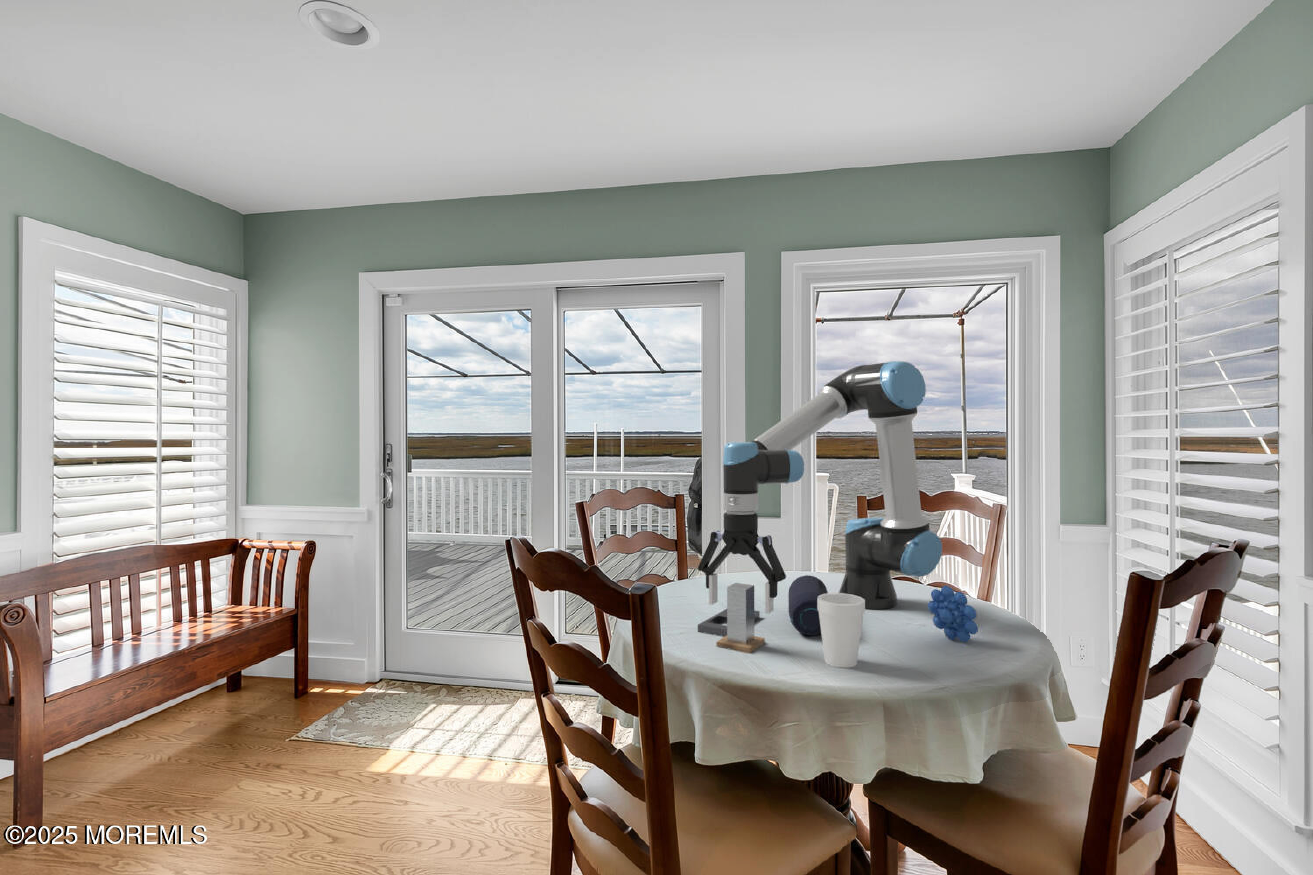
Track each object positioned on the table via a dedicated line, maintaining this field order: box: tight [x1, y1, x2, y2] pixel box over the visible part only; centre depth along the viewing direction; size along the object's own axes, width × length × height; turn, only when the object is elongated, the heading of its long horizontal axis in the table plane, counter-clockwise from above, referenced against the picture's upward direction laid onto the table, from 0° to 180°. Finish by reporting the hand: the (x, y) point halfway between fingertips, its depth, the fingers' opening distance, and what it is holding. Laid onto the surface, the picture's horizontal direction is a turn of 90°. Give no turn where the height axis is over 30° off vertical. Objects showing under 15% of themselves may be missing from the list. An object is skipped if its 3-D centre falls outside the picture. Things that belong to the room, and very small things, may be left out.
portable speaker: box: [788, 574, 829, 636], centre depth 160 cm, size 25×10×10 cm, turn 169°
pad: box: [716, 635, 766, 654], centre depth 145 cm, size 8×8×1 cm
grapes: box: [927, 585, 979, 643], centre depth 147 cm, size 12×7×12 cm, turn 36°
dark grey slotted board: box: [697, 608, 761, 637], centre depth 159 cm, size 8×18×2 cm, turn 148°
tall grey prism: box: [726, 582, 755, 645], centre depth 145 cm, size 4×4×12 cm
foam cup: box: [817, 592, 866, 669], centre depth 134 cm, size 10×9×13 cm
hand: (740, 607), depth 145 cm, fingers open, 13 cm apart
